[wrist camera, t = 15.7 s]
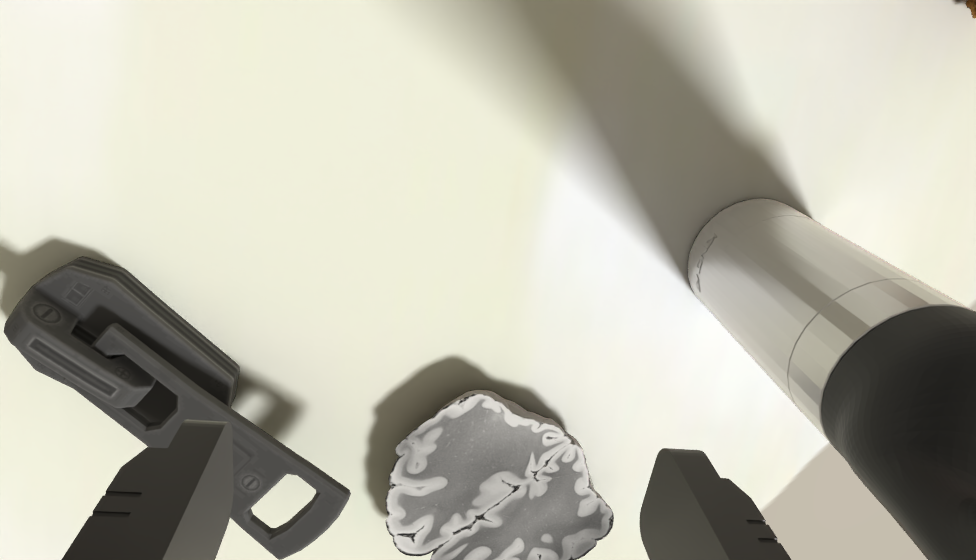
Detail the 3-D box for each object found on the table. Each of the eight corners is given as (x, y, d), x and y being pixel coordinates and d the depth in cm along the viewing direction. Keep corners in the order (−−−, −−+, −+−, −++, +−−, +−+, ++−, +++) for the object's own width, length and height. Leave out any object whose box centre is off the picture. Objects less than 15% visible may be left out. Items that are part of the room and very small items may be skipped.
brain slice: (333, 475, 52) (328, 502, 49) (486, 345, 48) (489, 366, 46) (494, 590, 59) (497, 618, 56) (638, 483, 55) (649, 508, 52)
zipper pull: (282, 572, 46) (-60, 377, 38) (298, 506, 53) (7, 325, 44) (363, 500, 44) (21, 276, 36) (370, 440, 51) (80, 236, 42)
